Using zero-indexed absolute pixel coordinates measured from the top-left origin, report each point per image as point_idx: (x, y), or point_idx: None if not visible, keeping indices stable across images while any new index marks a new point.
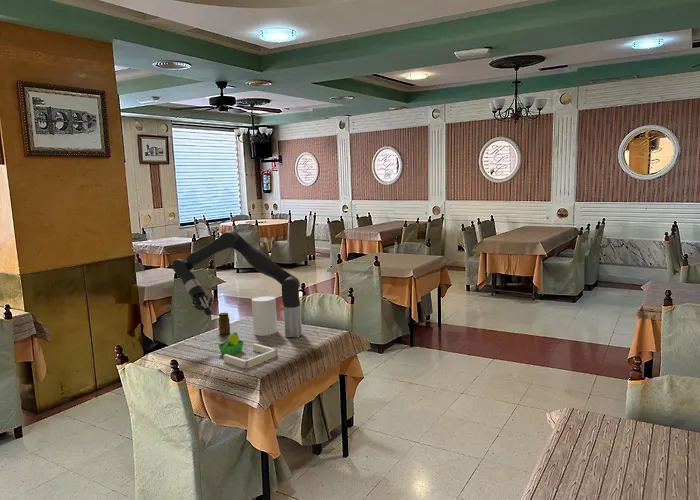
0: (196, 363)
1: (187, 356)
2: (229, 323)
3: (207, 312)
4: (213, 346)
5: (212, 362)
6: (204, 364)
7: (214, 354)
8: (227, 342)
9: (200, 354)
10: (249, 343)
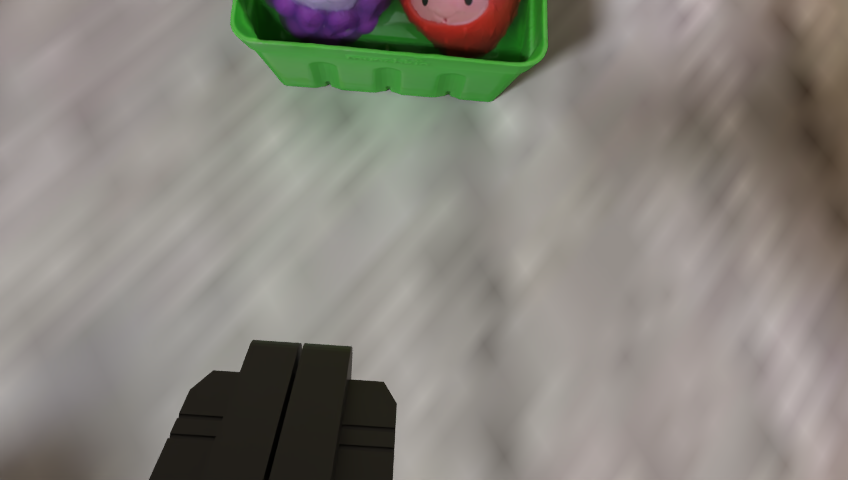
0: (841, 124)
1: (801, 413)
2: None
3: (355, 408)
4: None
5: (712, 4)
6: (798, 32)
7: (548, 167)
8: (376, 53)
9: (653, 321)
10: (29, 85)
